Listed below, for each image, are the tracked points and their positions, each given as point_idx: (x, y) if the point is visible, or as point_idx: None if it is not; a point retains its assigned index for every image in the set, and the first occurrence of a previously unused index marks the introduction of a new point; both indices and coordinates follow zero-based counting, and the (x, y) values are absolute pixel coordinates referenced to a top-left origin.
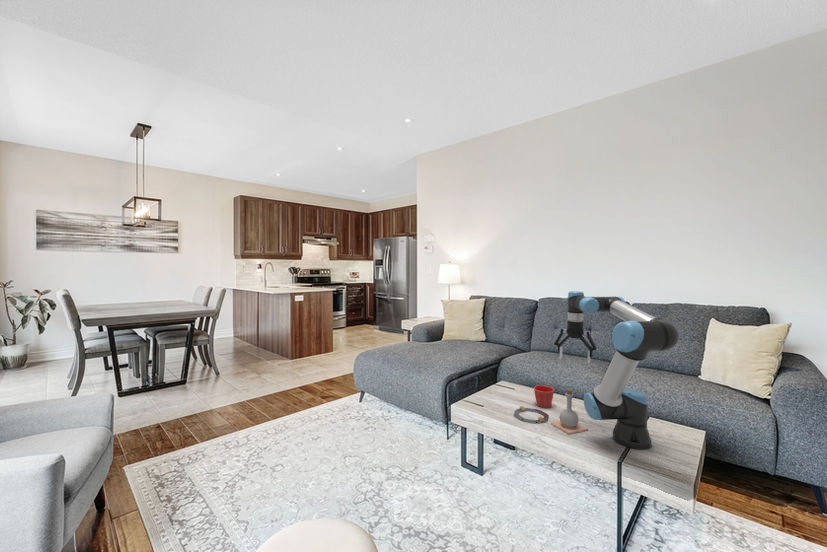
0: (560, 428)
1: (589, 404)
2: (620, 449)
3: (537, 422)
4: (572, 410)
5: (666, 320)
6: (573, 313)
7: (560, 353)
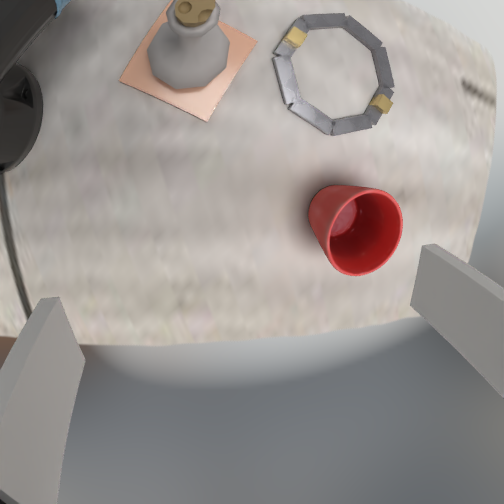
0: None
1: None
2: None
3: (297, 18)
4: (178, 61)
5: None
6: None
7: (483, 280)
